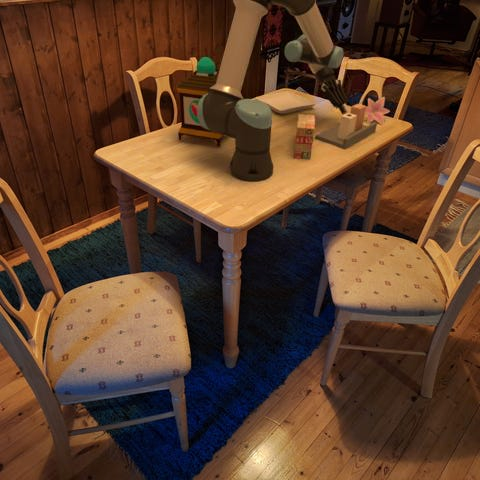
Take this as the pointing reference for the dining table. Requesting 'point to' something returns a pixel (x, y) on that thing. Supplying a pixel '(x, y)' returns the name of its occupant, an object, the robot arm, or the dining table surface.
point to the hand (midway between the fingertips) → (349, 119)
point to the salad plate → (285, 102)
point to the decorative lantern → (197, 100)
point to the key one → (347, 125)
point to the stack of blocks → (304, 136)
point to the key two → (358, 115)
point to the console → (332, 137)
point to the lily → (376, 110)
